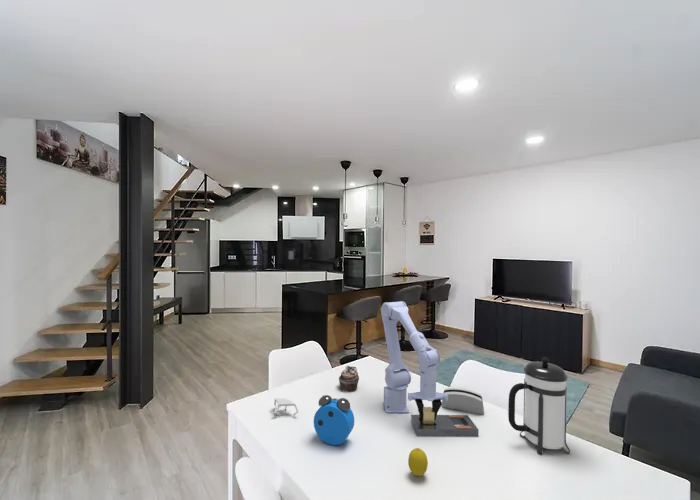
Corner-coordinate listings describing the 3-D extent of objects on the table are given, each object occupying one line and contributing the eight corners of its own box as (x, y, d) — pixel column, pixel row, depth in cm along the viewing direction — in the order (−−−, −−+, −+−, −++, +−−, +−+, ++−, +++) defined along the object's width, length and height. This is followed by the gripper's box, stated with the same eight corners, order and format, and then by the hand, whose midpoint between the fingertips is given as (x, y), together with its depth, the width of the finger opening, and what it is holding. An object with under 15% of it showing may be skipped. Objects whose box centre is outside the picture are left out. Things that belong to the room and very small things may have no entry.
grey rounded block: (483, 408, 134) (484, 389, 131) (484, 417, 130) (484, 398, 127) (442, 401, 140) (442, 383, 137) (441, 409, 136) (441, 390, 133)
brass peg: (423, 431, 117) (423, 412, 117) (420, 425, 121) (420, 406, 121) (434, 431, 117) (434, 412, 117) (431, 425, 121) (431, 407, 121)
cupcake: (340, 383, 157) (340, 363, 157) (359, 385, 156) (360, 364, 156) (336, 392, 148) (337, 370, 148) (357, 393, 147) (358, 371, 147)
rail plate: (417, 436, 114) (417, 428, 114) (410, 421, 124) (411, 414, 124) (478, 436, 114) (478, 428, 114) (467, 421, 124) (467, 414, 124)
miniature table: (266, 418, 124) (266, 405, 124) (275, 407, 132) (275, 396, 132) (295, 421, 122) (295, 409, 122) (302, 411, 130) (303, 399, 130)
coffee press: (523, 426, 121) (525, 347, 121) (574, 445, 110) (576, 357, 110) (507, 445, 109) (508, 357, 109) (562, 468, 98) (563, 370, 98)
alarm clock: (354, 440, 111) (355, 396, 111) (348, 450, 105) (349, 404, 105) (320, 432, 115) (320, 390, 115) (312, 441, 109) (313, 397, 109)
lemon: (405, 469, 96) (406, 443, 96) (423, 469, 96) (424, 442, 97) (410, 483, 91) (411, 454, 91) (430, 482, 91) (430, 454, 91)
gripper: (410, 386, 115) (410, 424, 115) (451, 387, 115) (450, 425, 115) (406, 379, 122) (406, 414, 122) (444, 379, 122) (444, 415, 122)
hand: (427, 419), depth 119 cm, fingers closed on brass peg, 4 cm apart
